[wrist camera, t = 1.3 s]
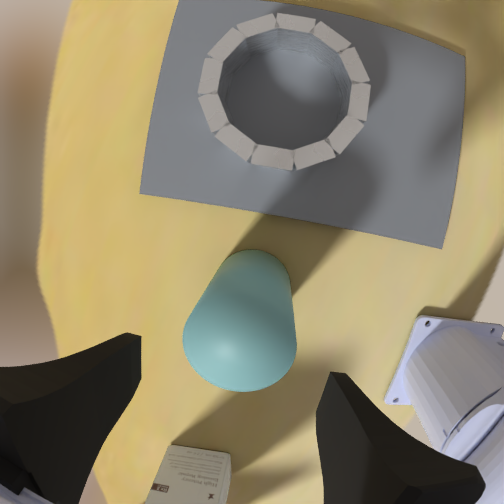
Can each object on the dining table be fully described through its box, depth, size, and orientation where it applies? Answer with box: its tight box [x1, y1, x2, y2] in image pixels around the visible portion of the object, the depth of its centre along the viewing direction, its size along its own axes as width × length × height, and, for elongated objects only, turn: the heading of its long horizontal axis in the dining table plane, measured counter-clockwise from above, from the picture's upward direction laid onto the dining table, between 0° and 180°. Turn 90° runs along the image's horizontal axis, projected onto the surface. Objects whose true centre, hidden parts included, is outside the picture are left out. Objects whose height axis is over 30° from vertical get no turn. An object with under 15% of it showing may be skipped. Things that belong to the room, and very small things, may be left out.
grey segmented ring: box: [198, 13, 371, 172], centre depth 16 cm, size 9×9×3 cm
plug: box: [183, 250, 297, 392], centre depth 18 cm, size 5×5×8 cm
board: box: [140, 0, 465, 249], centre depth 18 cm, size 20×14×1 cm
